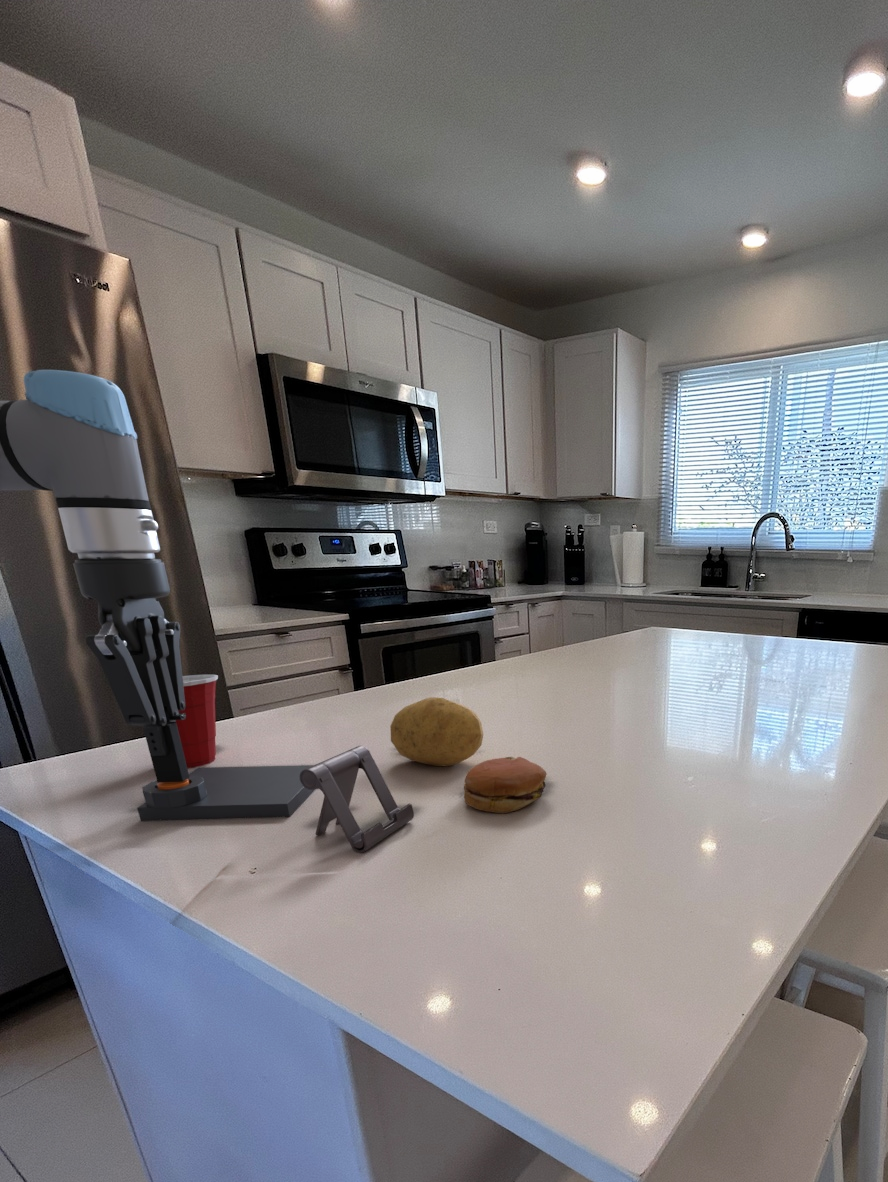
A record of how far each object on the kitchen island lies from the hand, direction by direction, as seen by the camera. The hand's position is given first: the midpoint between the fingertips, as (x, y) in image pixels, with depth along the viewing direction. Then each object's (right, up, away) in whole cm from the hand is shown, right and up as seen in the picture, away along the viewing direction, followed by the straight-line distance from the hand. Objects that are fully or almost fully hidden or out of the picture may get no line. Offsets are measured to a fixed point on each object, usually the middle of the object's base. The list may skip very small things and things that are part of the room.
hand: (173, 779), depth 74 cm
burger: (+37, -2, +6) cm, 37 cm away
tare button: (0, -2, +1) cm, 2 cm away
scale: (+5, -2, +6) cm, 8 cm away
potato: (+25, +3, +19) cm, 32 cm away
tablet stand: (+22, -6, -4) cm, 24 cm away
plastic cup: (-10, +3, +19) cm, 22 cm away
